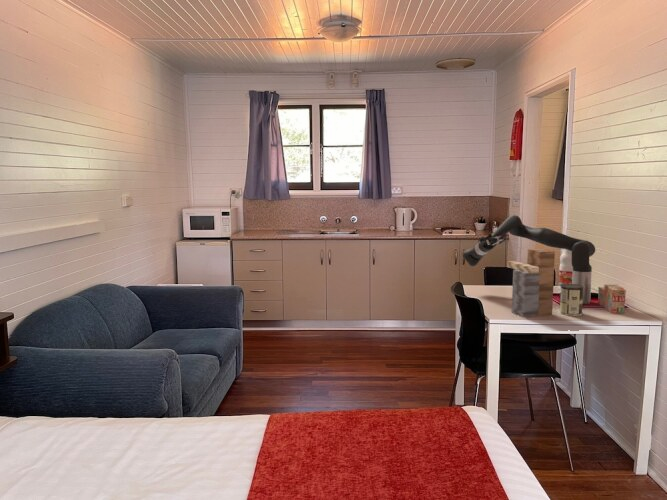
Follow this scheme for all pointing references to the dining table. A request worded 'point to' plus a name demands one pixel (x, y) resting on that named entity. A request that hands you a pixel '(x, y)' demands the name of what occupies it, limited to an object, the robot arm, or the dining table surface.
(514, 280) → the stepped stand
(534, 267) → the birch bar
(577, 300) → the coffee can
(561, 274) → the fruit juice
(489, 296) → the dining table surface
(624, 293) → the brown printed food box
